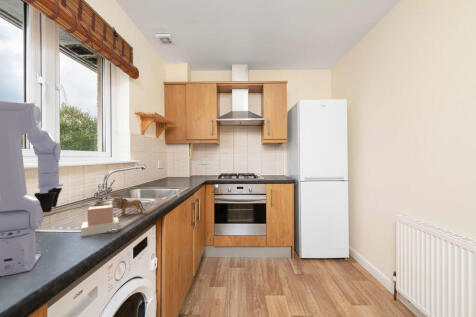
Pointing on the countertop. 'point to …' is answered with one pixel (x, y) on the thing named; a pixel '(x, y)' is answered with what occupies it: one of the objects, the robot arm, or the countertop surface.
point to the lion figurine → (127, 204)
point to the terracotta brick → (100, 214)
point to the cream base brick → (98, 227)
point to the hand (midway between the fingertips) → (49, 209)
